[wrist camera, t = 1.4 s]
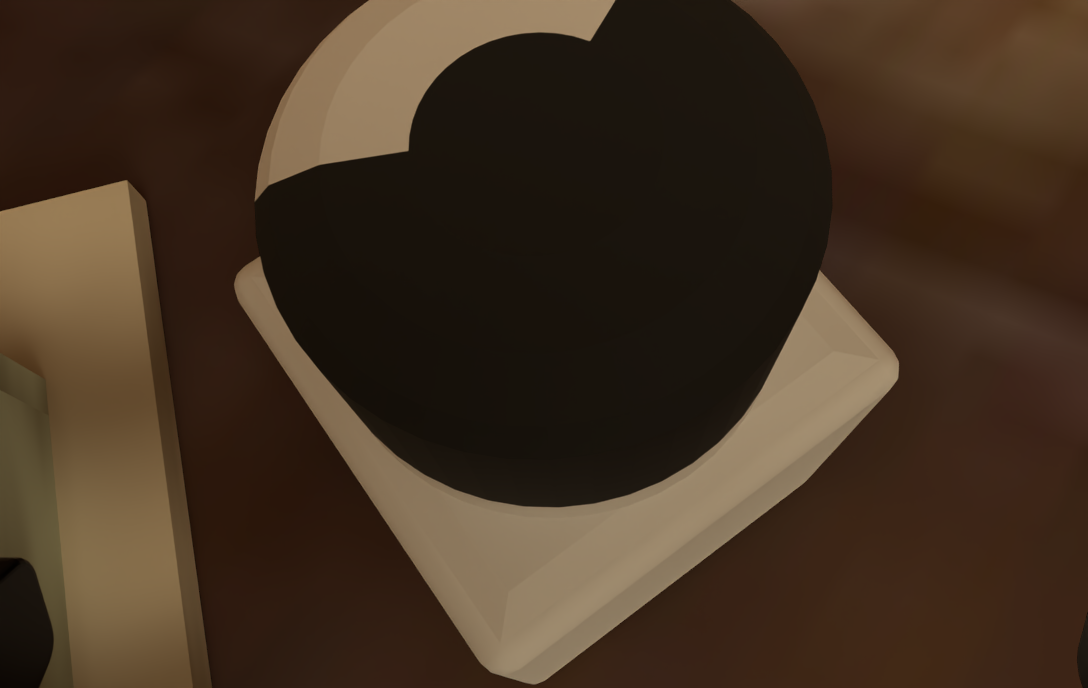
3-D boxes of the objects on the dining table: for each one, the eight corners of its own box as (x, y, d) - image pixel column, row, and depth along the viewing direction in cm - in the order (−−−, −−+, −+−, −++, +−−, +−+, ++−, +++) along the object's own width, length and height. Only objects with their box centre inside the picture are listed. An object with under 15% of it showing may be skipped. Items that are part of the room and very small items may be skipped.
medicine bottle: (815, 475, 21) (1071, 201, 10) (529, 693, 20) (435, 676, 8) (603, 222, 23) (607, -247, 12) (335, 406, 22) (50, 84, 11)
